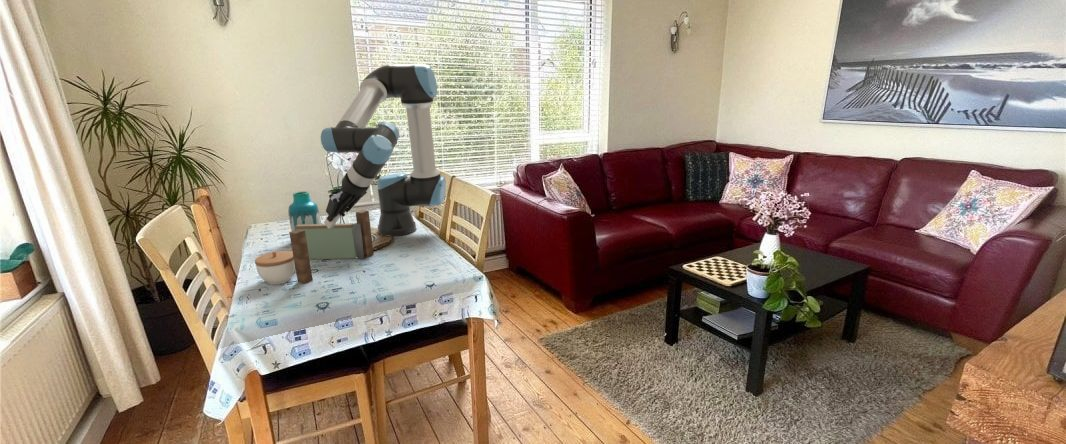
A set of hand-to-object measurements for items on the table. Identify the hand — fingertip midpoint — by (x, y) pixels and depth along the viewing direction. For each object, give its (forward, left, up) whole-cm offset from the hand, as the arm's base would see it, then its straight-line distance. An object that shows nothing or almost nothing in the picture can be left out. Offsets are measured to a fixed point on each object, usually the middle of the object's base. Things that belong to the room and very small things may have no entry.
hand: (328, 225), depth 149 cm
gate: (-4, -5, -14) cm, 15 cm away
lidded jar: (+16, -5, -14) cm, 22 cm away
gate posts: (+1, +3, -14) cm, 14 cm away
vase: (-14, -30, -14) cm, 36 cm away
